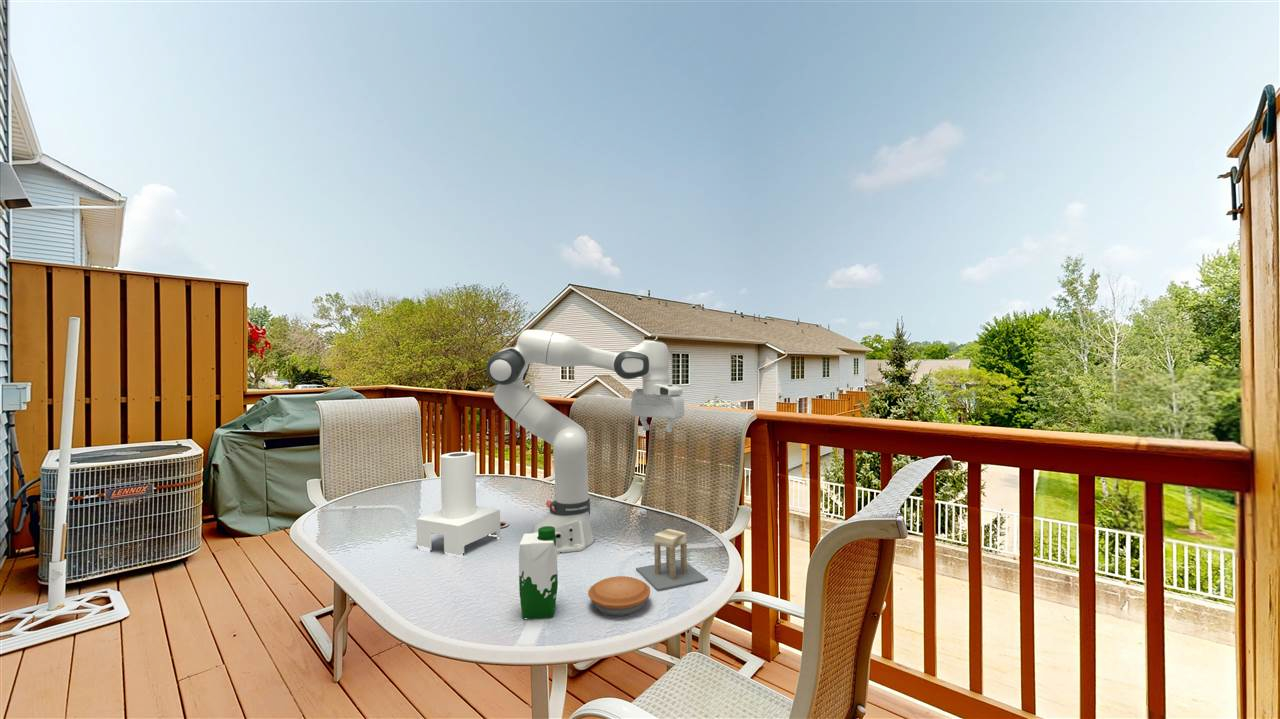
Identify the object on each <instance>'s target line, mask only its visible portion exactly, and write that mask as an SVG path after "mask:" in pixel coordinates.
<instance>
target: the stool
mask: <svg viewBox="0 0 1280 719" xmlns="http://www.w3.org/2000/svg"><path fill="white" fill-rule="evenodd" d="M653 541H654V544H653V545H654V548H653V551H654V552H653V553H654V565H655V574H657V575H659V574H661V563H662V561H661V558H662V557H661V546H662V547H664V548H665V555H666V556H665V557H666V558H665V562H666V568H668V569H669V575H670V579H671V580H674V579H676V567H675V561H676V548H678V547H679V546H680V547H679V548H680V560H681V573H684V574H685V573H687V563H688V559H687V558H688V557H687V555H688V554H687V552H688V551H687V533H686V532H684V531H683V532H682V531H679V530H675V529H670V528H667V529H664V530H662V531H659V532H657V533H655V534H654V535H653Z"/></svg>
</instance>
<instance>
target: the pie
mask: <svg viewBox="0 0 1280 719" xmlns="http://www.w3.org/2000/svg"><path fill="white" fill-rule="evenodd" d="M587 596H588V597H589V599H590V601H591V602H593V604H594V606H595V607H596V609H597V610H598V611H599V612H601V613H602V614H604V615H607V616H613V617H621V616H629V615H632V614H635V613H636V612H638V611H640V610H641V608H642V607H643V605H644V604H645V603H646V600H647V599H648V598H649V597H650V596H651V587H650V585H648V584H647V583H646V582H644V581H643V580H641V579H638V578H635V577H632V576H627V575H626V576H625V575H624V576H622V575H620V576H619V575H618V576H617V575H616V576H612V577H611V576H610V577H607V578H604V579H601V580H599V581H597V582H595V583H594V584H593V585H591V587H590V588H588V591H587Z"/></svg>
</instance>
